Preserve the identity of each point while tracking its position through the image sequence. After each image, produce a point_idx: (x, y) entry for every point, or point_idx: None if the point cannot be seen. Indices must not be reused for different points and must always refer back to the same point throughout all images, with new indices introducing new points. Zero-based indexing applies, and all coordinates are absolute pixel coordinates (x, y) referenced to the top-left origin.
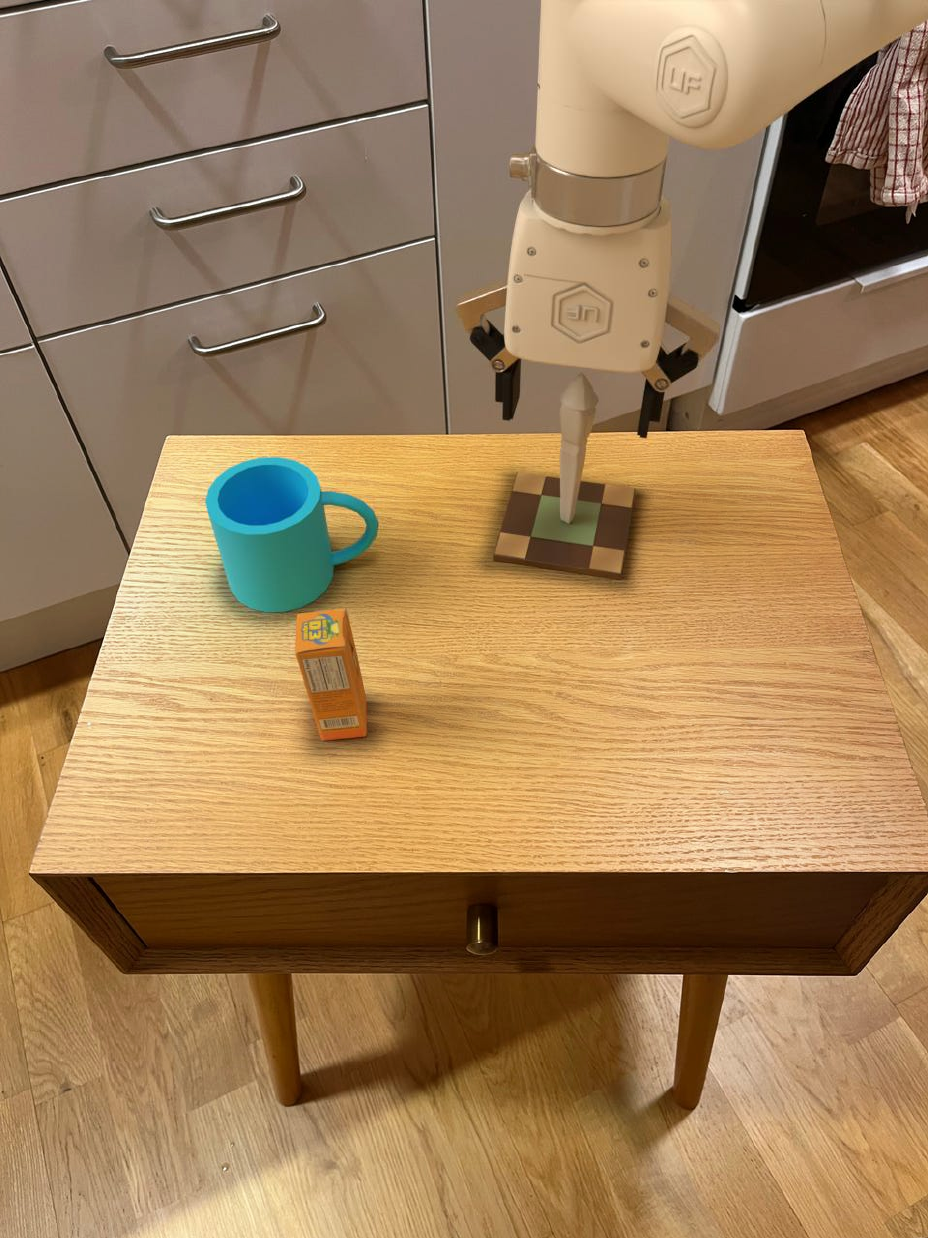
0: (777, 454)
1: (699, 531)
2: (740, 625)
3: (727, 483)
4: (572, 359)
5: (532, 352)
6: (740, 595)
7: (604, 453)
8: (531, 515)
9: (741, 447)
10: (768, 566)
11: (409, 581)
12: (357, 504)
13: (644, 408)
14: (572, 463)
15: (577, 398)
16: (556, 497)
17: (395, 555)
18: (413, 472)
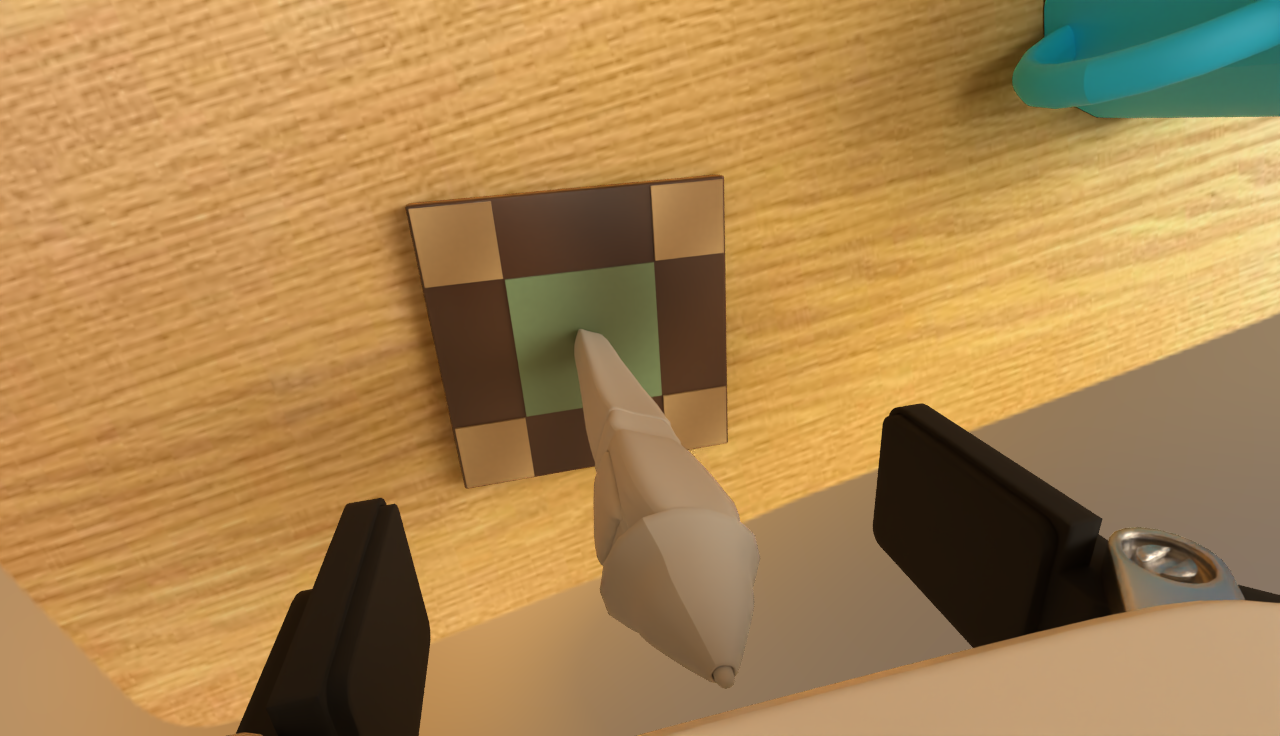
0: (196, 698)
1: (277, 423)
2: (25, 133)
3: (272, 582)
4: (924, 734)
5: (1248, 667)
6: (79, 246)
7: (564, 562)
8: (668, 329)
9: None
10: (53, 370)
11: (884, 48)
12: (1170, 49)
13: (343, 607)
14: (618, 397)
15: (695, 556)
16: None
17: (924, 124)
18: (921, 376)
